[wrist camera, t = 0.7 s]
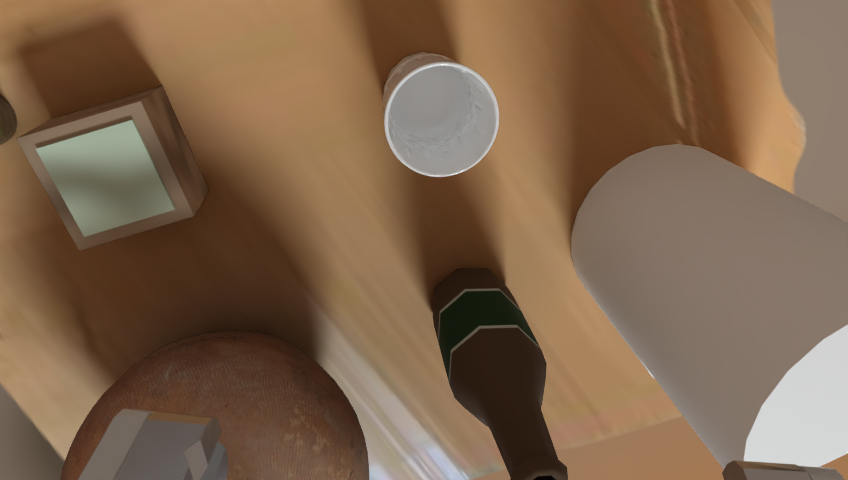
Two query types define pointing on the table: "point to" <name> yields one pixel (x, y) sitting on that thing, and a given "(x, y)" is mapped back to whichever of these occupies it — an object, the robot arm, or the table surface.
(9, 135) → the grey cylindrical bottle
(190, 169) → the stand block
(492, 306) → the beer bottle
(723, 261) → the cylinder
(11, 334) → the table surface
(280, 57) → the table surface
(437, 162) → the white cup
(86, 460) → the pottery
